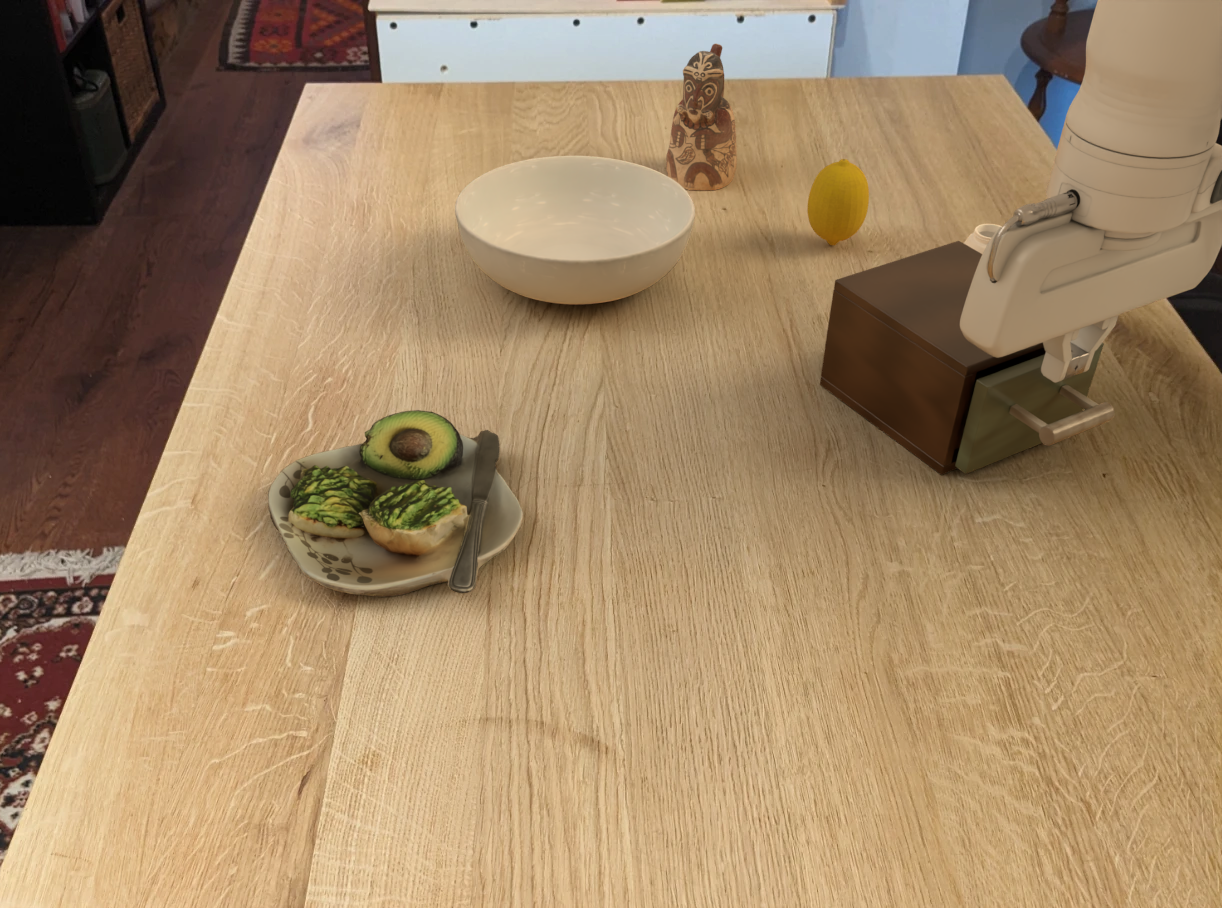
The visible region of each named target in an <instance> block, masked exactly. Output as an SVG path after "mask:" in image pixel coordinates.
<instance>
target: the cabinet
mask: <svg viewBox="0 0 1222 908" xmlns="http://www.w3.org/2000/svg"><path fill="white" fill-rule="evenodd" d="M981 256H982V254H981V253H979V252H978V251H976V250H974V249H972V248H971V247H969V246H967V245H966V244H964V242H963V241H961V240H957V241H956V240H955V241H953V242H949V243H947V244H944V245H941V246H938V247H935V248H931V249H927V250H925V251H922V252H919V253H916V254H913V255H910V256H909V255H908V256H906V257H902V258H900V259H897V260H893V261H889V262H887V263H884V264H881V265H878V266H874V267H871V268H868V269H865V270H862V271H859V272H856V273H853V274H852V273H851V274H849V275H846V276H843V277H840V278H837V279H835V280H834V286H833V291H832V296H831V297H832V299H831V305H830V312H829V318H828V324H827V332H826V338H825V343H824V344H825V345H824V350H823V351H824V352H823V359H822V365H821V371H820V378H819V379H820V380H819V385H820V386H821V387H822V388H823V389H825V390H826V391H828V392H829V393H830V394H832V395H833V396H834V397H836V398H837V399H838V400H839V401H840V402H842V403H844V404H845V405H847V406H848V407H849V408H850V409H852V410H853V411H854V412H856V413H857V414H859V415H860V416H861V417H862V418H864V419H865V420H867V421H868V422H869V423H871V424H873V426H874V427H876V428H878V430H880V431H882V432H883V433H884V434H886V435H887V436H888V437H890V438H891V439H892V440H894V441H895V442H896V443H897V444H899V445H901V446H902V447H903V448H904V449H906V450H907V451H908V452H910V453H911V454H912V455H914V456H915V457H916V458H918V459H919V460H920V461H922V462H923V463H924V464H926V465H927V466H929V468H931V469H933V471H936V472H937V473H938V474H939V475H941V476H943V475H945V474H947V473H950V472H953V471H955V470H957V469H958V468H957V467H956V466H955V464H956V460H957V456H958V452H959V448H957V449H955V446H956V442H957V438H958V434H959V430H960V426H961V422H962V418H963V414H964V410H965V406H966V401H967V397H968V393H969V389H970V385H971V381H972V377H973V373H976V372H979V371H981V370H984V369H987V368H989V367H992V366H995V365H997V364H1000V363H1003V362H1006V361H1008V360H1011V359H1014V358H1016V357H1019V356H1022V355H1024V354H1027V353H1030V352H1033V351H1035V350H1038V349H1041V348H1043V347H1044V345H1043V342H1042V343H1039V344H1037V345H1034V346H1031V347H1028V348H1025V349H1023V350H1020V351H1017V352H1014V353H1012V354H1009V355H1006V356H1003V357H999V358H997V357H993V356H991V355H989V354H988V353H986V352H984V351H983V350H981V349H980V348H978V347H977V346H975V345H974V344H972V343H971V342H969V341H968V340H967V339H966V338H965V337H964V335H963V333H962V331H961V329H960V318H961V314H962V311H963V308H964V304H965V301H966V298H967V295H968V292H969V289H970V286H971V283H972V280H973V277H974V274H975V272H976V269H977V266H978V264H979V261H980V259H981Z"/></svg>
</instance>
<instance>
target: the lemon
mask: <svg viewBox="0 0 1222 908" xmlns="http://www.w3.org/2000/svg"><path fill="white" fill-rule="evenodd" d="M869 189H870V188H869V183H868V179H867V177H866V174H865V173H864V172H863V170H862V169H861V168H859V166H857V165H856V164H854V163H852V162H850V161H849V159H847V158H840V160H838V161H834V162H831V163H830V164H827V165H825V167H824V168H822V169H821V170H820V171H819V172H818V174H817V175H816V176H815V178H814V181H813V183H812V185H811V187H810V190H809V194H808V199H807V218H808V223H809V225H810V227H811V229H812V231H813V232H814V233H815V235H817V236H818V237H819V238H820V239H823V240H824V241H826V242H827V243H828V245H830V246H836V245H837V244H838V243H839V242H842V241H846V240H848V239H851V238H852V237H853V236H854V235H855V234H857V233H858V231H859V230H860V228H861V227H862V226H863V224H864V222H865V220H866V217H867V214H868V209H869V203H870V202H869V201H870V190H869Z"/></svg>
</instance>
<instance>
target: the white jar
mask: <svg viewBox="0 0 1222 908" xmlns="http://www.w3.org/2000/svg"><path fill="white" fill-rule="evenodd" d="M1002 226H1003V225H1000V224H996V223H982V224H979V225H977V226H975V228H974V230H973V232H971V233H970V234H969V235H968V236H967V238H966V239H965V241H964V242H963V243H964V244H966V245H967V246H969V247H971V248H972V249H974V250H976V251H978V252H979V253H981V254H983V252H984V250H985V248H986V246H987V244H988V242H989V241H990V239H991V238H992V236H993V235H994V234H995V232H996V231H997V230H998V229H999V228H1002Z"/></svg>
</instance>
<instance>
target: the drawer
mask: <svg viewBox="0 0 1222 908" xmlns="http://www.w3.org/2000/svg"><path fill="white" fill-rule="evenodd" d="M1104 344H1105V343H1104V341H1103V342H1102V344H1101V345H1100V346H1099V348H1098V349H1097V350H1096V351H1095V353H1094V356H1093V358H1092V361H1091V364H1090V367H1089V369H1088V371H1086V372H1083V373H1080V374H1077V375H1074V376H1072V377H1069V378H1067V379H1064V380H1062V381H1059V382H1056V383H1055V382H1053V381H1051V380H1050V379H1048V378H1046V377H1045V376H1043V374H1042V372H1041V367H1042V363H1043V360H1044V356H1045V353H1046V351H1045V349H1044V347H1043V348H1041V349H1038V350H1035V351H1033V352H1030V353H1027V354H1024V355H1022V356H1019V357H1016V358H1014V359H1011V360H1008V361H1006V362H1003V363H1000V364H997V365H995V366H992V367H989V368H987V369H984V370H981V371H979V372H976V373H973V377H972V381H971V385H970V389H969V393H968V397H967V401H966V406H965V410H964V414H963V418H962V422H961V426H960V430H959V434H958V438H957V442H956V446H955V449H957V448H959V452H958V456H957V460H956V464H955V466H956V467H957V469H958V470H960V471H961V472H962V473H963V474H965V475H968V474H970V473H972V472H974V471H978V470H979V469H982V468H984V467H986V466H989V465H992V464H994V463H997V462H999V461H1001V460H1004V459H1007V458H1009V457H1012V456H1014V455H1016V454H1019V453H1022V452H1023V451H1026V450H1029V449H1032V448H1033V447H1036V446H1038V445H1041V444H1043V445H1044V446H1050V447H1051V446H1053V445H1055V444H1057V443H1060V442H1062V441H1066V440H1067V439H1070V438H1072V437H1074V436H1076V435H1079V434H1082V433H1084V432H1086V431H1089V430H1091V429H1093V428H1097V427H1099V426H1101V425H1104V424H1106V423H1108V422H1111V421H1112V420H1113V419H1114V417H1115V408H1114V406H1113V405H1112V404H1111V403H1110V402H1107V401H1104V402H1101V403H1097V402H1096V401H1094V400H1092V399H1091V398H1089V397H1088V394H1089V392H1090V388H1091V385H1092V382H1093V379H1094V376H1095V374H1096V371H1097V367H1098V364H1099V361H1100V357H1101V355H1102V352H1103V349H1104Z"/></svg>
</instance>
